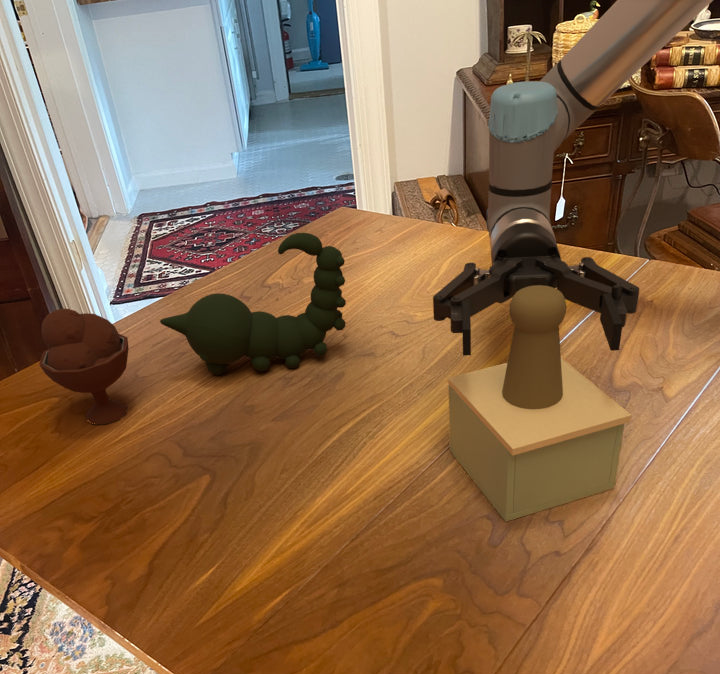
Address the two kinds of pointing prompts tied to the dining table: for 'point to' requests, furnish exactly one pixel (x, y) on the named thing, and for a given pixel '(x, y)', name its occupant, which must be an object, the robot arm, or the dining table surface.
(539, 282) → the robot arm
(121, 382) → the dining table surface
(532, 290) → the cork
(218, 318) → the toy figurine
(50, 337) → the ice cream bowl
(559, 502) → the box
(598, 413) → the caddy lid
